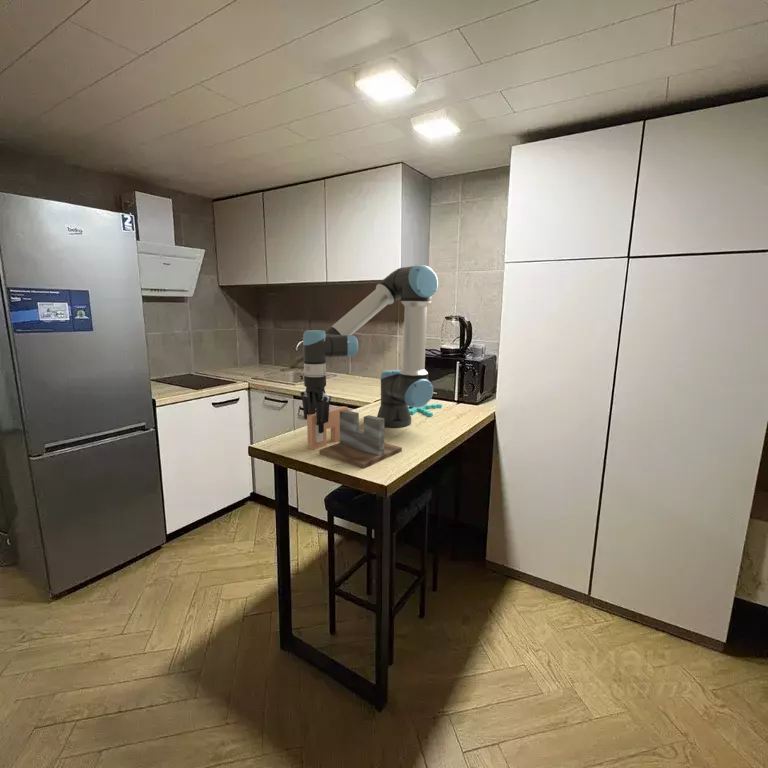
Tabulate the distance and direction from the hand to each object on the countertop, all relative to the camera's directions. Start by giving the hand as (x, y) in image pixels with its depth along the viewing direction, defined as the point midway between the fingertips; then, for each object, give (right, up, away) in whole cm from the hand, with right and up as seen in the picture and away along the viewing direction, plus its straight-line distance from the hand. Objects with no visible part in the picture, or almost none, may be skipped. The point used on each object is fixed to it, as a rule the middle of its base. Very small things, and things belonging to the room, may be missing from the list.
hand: (316, 440), depth 149 cm
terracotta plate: (+4, -2, +5) cm, 7 cm away
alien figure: (+40, +7, +55) cm, 68 cm away
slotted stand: (+16, -4, -5) cm, 17 cm away
